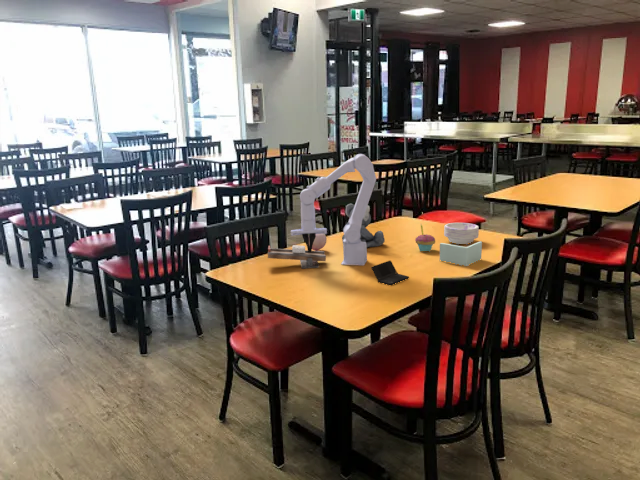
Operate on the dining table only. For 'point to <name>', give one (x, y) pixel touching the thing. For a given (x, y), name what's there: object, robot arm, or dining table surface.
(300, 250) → the block
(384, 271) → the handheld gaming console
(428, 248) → the cupcake
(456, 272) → the dining table surface
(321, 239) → the decorative fruit
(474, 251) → the pale blue squat box
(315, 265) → the fulcrum stand
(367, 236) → the koala plush
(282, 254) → the beam
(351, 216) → the robot arm
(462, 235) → the paper bowls
